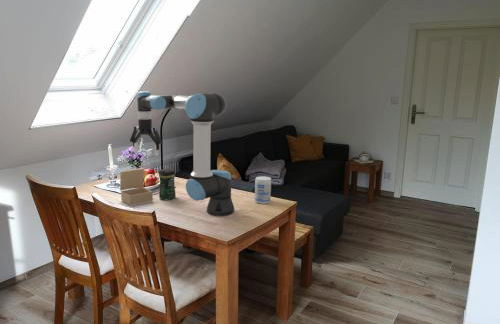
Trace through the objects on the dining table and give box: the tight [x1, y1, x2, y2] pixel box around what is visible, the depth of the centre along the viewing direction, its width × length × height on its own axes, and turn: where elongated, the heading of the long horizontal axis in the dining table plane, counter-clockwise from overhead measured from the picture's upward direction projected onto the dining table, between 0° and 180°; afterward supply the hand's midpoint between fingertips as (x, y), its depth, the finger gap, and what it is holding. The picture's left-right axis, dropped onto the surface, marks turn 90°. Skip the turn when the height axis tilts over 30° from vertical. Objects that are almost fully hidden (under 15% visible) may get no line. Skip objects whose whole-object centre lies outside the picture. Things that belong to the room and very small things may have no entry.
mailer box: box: [120, 186, 154, 207], centre depth 230 cm, size 12×14×6 cm
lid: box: [119, 167, 145, 192], centre depth 232 cm, size 12×14×1 cm
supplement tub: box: [254, 175, 272, 205], centre depth 232 cm, size 10×10×15 cm
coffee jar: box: [158, 167, 177, 201], centre depth 235 cm, size 10×8×19 cm
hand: (146, 154), depth 230 cm, fingers open, 13 cm apart
